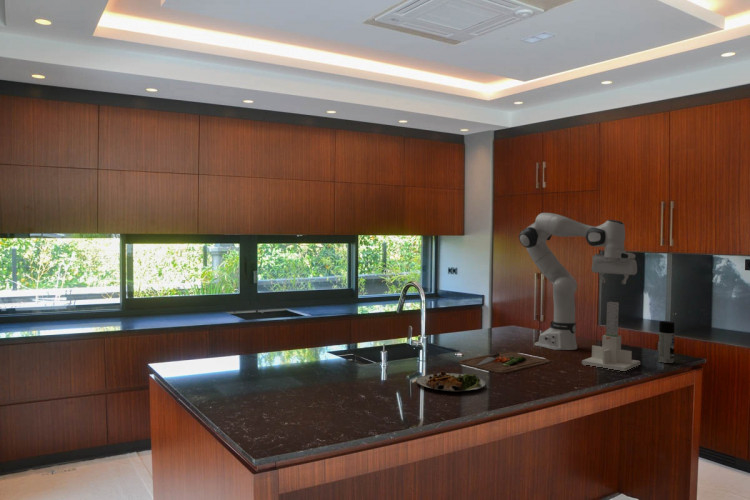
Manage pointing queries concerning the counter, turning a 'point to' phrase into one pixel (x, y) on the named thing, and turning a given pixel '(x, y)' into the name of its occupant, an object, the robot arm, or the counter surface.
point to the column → (612, 319)
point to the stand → (611, 355)
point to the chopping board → (503, 362)
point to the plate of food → (451, 381)
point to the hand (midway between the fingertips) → (613, 283)
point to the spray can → (666, 342)
